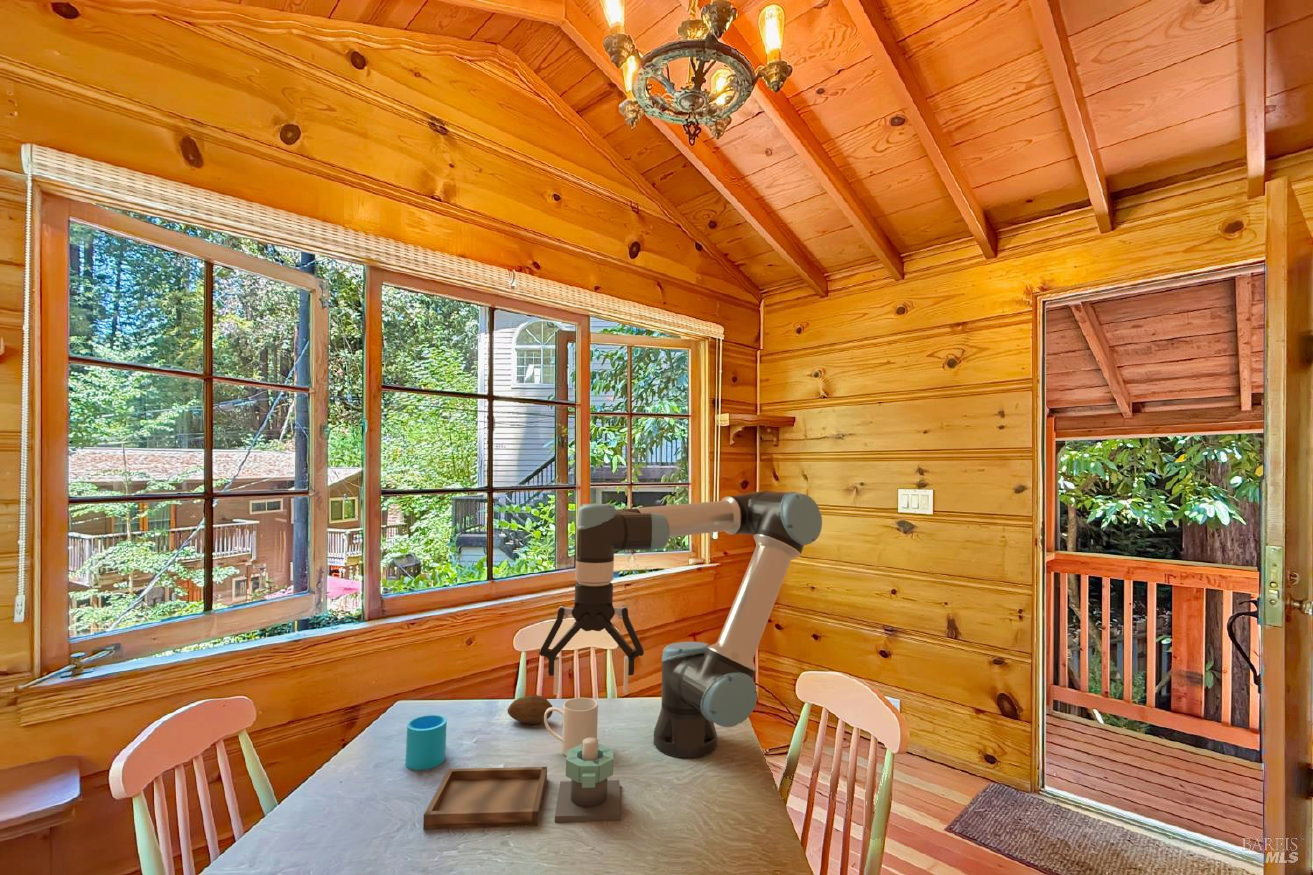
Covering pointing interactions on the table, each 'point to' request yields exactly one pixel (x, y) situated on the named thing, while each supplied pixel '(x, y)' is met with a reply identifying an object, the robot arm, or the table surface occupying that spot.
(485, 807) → the tray
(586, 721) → the mug
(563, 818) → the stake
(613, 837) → the table surface
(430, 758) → the mug
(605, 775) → the ring
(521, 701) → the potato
